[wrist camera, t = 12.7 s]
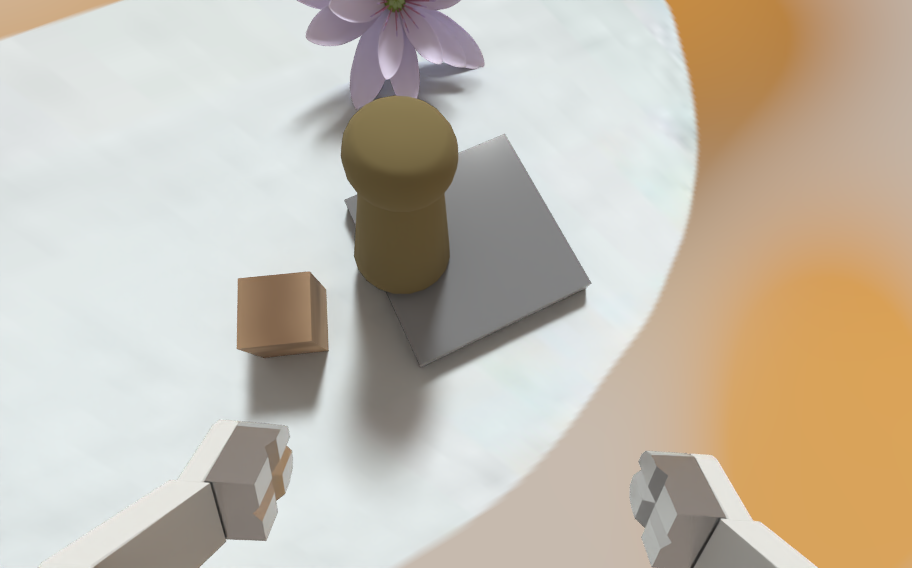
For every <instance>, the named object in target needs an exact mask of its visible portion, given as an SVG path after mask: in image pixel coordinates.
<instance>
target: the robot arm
mask: <svg viewBox="0 0 912 568" xmlns="http://www.w3.org/2000/svg"><path fill="white" fill-rule="evenodd" d="M289 438H290V434H289V429H288V426H285V425H276V424H266V423H256V422H245V421H232V420H221V419H220V420H218V421H217V422H216V423H214V424H213V425H212V427H211V428H210V430H209V431H208V433H207V435H206V436H205V438H204V439H203V441H202V442H201V444H200V445H199V447H198V448H197V450H196V451H195V453H194V454H193V456H192V457H191V459H190V461H189V462H188V464H187V465H186V467H185V468H184V470H183V471H182V473H181V474H180V476H179V477H178V479H177V480H169V481H167V482H166V483H164V484H163V485H161V486H159V487H158V488H156V489H155V490H153V491H152V492H150V493H149V494H147V495H146V496H144V497H142V498H141V499H139V500H138V501H136V502H135V503H133V504H132V505H130V506H128V507H127V508H125V509H124V510H122V511H121V512H119V513H118V514H116V515H115V516H113V517H111V518H110V519H108V520H107V521H105V522H104V523H102V524H101V525H99V526H97V527H96V528H94V529H93V530H91V531H90V532H88V533H87V534H85V535H84V536H82V537H80V538H79V539H77V540H76V541H74V542H73V543H71V544H70V545H68V546H67V547H65V548H63V549H62V550H60V551H59V552H57V553H56V554H54V555H53V556H51V557H49V558H48V559H46V560H45V561H43V562H42V563H41V564H40V565H39V566H38V568H199V567H200V566H201V565H202V564H203V563H204V562H205V561H206V560H207V559H209V558H210V557H211V556H212V555H213V554H214V553H215V552H216V551H217V550H218V549H219V548H220V547H221V546H222V545H223V544H224V543H225V542H226V539H234V540H259V541H266V540H267V538H268V535H269V533H270V530H271V528H272V525H273V523H274V520H275V518H276V516H277V513H278V510H277V503H276V501H277V500H278V499H279V498H280V497H282V496H283V495H284V494H285V493H286V490H287V488H288V485H289V482H290V478H291V473H292V469H293V455H292V450H291V449H290V448H289V447H287V446H286V445H287V443H288V441H289ZM639 464H640V467H641V470H640V471H639V472H637V473H636V474H634V476H633V478H632V481H631V484H630V502H631V508H632V511H633V514H634V517H635V519H636V520H637V521H638V522H639V523H640V524H641V525H642V526H643V527H644V528H645V529H644V532H643V534H642V537H641V538H642V541H643V544H644V546H645V549H646V552H647V555H648V558H649V561H650V564H651V567H654V568H818V567H816V566H815V565H814V564H813V563H811V562H810V561H809V560H808V559H806V558H805V557H804V556H802V555H801V554H800V553H799V552H798V551H796V550H795V549H794V548H793V547H791V546H790V545H789V544H788V543H786V542H785V541H784V540H783V539H781V538H780V537H779V536H777V535H776V534H775V533H774V532H773V531H771V530H770V529H769V528H767V527H766V526H765V525H764V524H762V523H761V522H759V521H753V520H752V518H751V516H750V515H749V513H748V511H747V510H746V508H745V506H744V504H743V503H742V501H741V499H740V498H739V496H738V494H737V493H736V491H735V489H734V487H733V486H732V484H731V482H730V481H729V479H728V477H727V476H726V474H725V472H724V470H723V469H722V467H721V465H720V464H719V462H718V460H717V459H716V458H715V457H714V456H712V455H701V454H687V453H673V452H657V451H645V452H644V453H643V454H642V455H641V457H640V459H639Z"/></svg>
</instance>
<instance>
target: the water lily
mask: <svg viewBox="0 0 912 568" xmlns="http://www.w3.org/2000/svg"><path fill="white" fill-rule="evenodd" d="M297 1H299V2H301V3H303V4H305V5H307V6H310V7H313V8H317V9H321V11H320V12H319V13H318V14H317V15H316V16H315V17H314V18H313V20H312V21H311V23H310V25H309V26H308V29H307V32H306V38H307V39H308V40H309V41H310V42H312V43H315V44H318V45H322V46H337V45H342V44H345V43H348V42H350V41H352V40H354V39H356V38H358V37H360V36H361V35H362V36H361V38H360V40H359V43H358V46H357V49H356V53H355V56H354V60H353V64H352V68H351V75H350V93H351V99H352V102H353V105H354V107H355V108H356V110H357V109H359V108H360V107H363V106H364V105H366V104H368V103H370V102H372V101H373V100H374V99H375V97H376V96H377V95H378V93H379V92H380V90H381V89H382V87H383V85H384V82H385V80H389V79H390V81H391V84H392V87H393V90H394V93H395V95H396V96H409V97H412V98H416V99H417V97H418V93H419V84H420V75H419V66H418V59H417V54H416V50H417V52H418V53H419V54H420V55H421V56H423V57H424V58H425V59H426V60H428V61H430V62H432V63H435V64H442V62H445V63H447V64H449V65H451V66H455V67H460V68H463V67H466V68H470V69H477V68H479V67H484V58H483V55H482V53H481V51H480V49H479V47H478V45H477V44H476V42H475V41H474V39H473V38H472V37H471V36H470V35H469V34H468V33H467V32H466V31H465V30H464V29H463V28H462V27H461V26H459V25H458V24H457V23H456V22H455V21H453V20H452V19H451V18H449V17H448V16H446V15H445V14H443V13H441V12H439V11H437V10H440V9H446V8H449V7H451V6H453V5H455V4H457V3H458V2H459V1H460V0H297ZM415 49H416V50H415Z"/></svg>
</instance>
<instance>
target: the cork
mask: <svg viewBox="0 0 912 568" xmlns="http://www.w3.org/2000/svg"><path fill="white" fill-rule="evenodd" d="M341 159H342V164H343V167H344V170H345V173H346V176H347V179H348V181H349V182H350V184H351V185H352V187H353V188H354V189H355V190H356V192H357V211H356V230H355V249H354V257H355V261H356V264H357V267H358V270H359V271H360V272H361V274H362V275H363V276H364V278H365V279H366V280H367V281H368V282H369V283H371V284H372V285H374V286H375V287H377V288H378V289H380V290H384V291H387V292H390V293H393V294H411V293H414V292H418V291H421V290H425V289H426V288H428V287H429V286H431V285H432V284H434V283H435V282H437V281H438V279H439V278H440V277H441V275H442V274H443V273H444V272H445V270H446V267H447V264H448V261H449V258H450V246H449V234H448V224H447V213H446V202H445V192H446V190H447V189H448V188H449V186H450V185H451V183H452V181H453V178H454V175H455V172H456V170H457V165H458V144H457V139H456V136H455V134H454V132H453V129H452V127H451V125H450V123H449V122H448V121H447V120H446V119H445V117H444V116H443V115H442V114H441V113H440V112H439V111H438V110H437V109H436V108H435V107H433V106H431V105H430V104H428V103H426V102H425V101H422V100H419V99H416V98H412V97H409V96H389V97H384V98H379V99H376V100H374V101H372V102H370V103H368V104H366V105H364V106H363V107H362V108H361V109H360V110H359V111H358V112H357V113H356V114H355V115H354V116H353V117H352V118H351V119H350V121H349V123H348V125H347V127H346V129H345V131H344V133H343V138H342V146H341Z"/></svg>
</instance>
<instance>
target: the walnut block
mask: <svg viewBox="0 0 912 568" xmlns="http://www.w3.org/2000/svg"><path fill="white" fill-rule="evenodd" d="M237 349H239V350H242V351H245V352H248V353H251V354H254V355H257V356H260V357H263V358H267V357H276V356H285V355H294V354H304V353H313V352H322V351H329V350H328V324H327V299H326V289H325V288H324V287H323V286H322V285H321V283H320V282H319V281H318V280H317V279H316V278H315V277H314V276H313V275H312V274H311V272H299V273H289V274H279V275H269V276H258V277H248V278H238V305H237Z"/></svg>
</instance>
